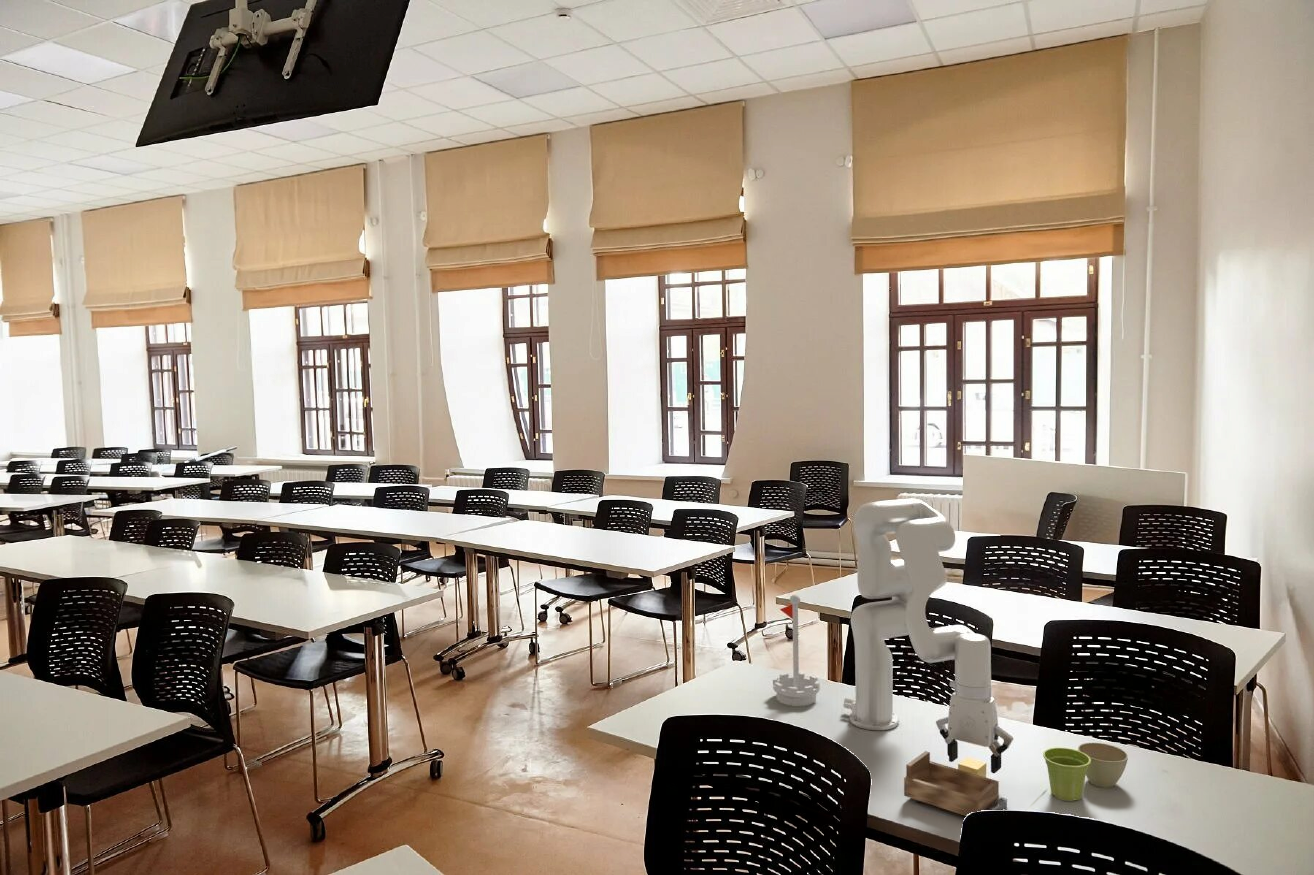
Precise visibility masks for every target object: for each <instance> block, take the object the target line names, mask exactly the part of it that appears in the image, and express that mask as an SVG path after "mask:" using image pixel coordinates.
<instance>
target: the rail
mask: <svg viewBox="0 0 1314 875" xmlns="http://www.w3.org/2000/svg"><path fill="white" fill-rule="evenodd" d="M1007 808H1008V798H1005V797H999V800H997V801H996V802H995V803H994V804H993V805H992V806H991V807H990V808H989V809H988V810H1003V809H1005V810H1006V809H1007Z"/></svg>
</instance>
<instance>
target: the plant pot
mask: <svg viewBox="0 0 1314 875" xmlns="http://www.w3.org/2000/svg"><path fill="white" fill-rule="evenodd" d="M1042 756H1043V759H1044V760H1045V764H1046V766H1047V767H1046V768H1047V773H1048V779H1049V787H1050V793H1051V795H1053V796H1054V797H1055V798H1056V799H1058V800H1061V801H1066V802H1073V801H1075V800H1076V801H1080V800H1081V799H1082V798H1083V792H1084V787H1085V785H1084V784H1085V780H1086V770H1087V769H1088V765H1089V764H1090V763H1091V759H1090V757H1089V756H1088V755H1086V754H1085V753H1083V752H1080V751H1078V749H1073V748H1067V747H1051V748H1048V749H1046V750H1044V751H1043V752H1042Z"/></svg>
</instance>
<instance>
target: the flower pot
mask: <svg viewBox="0 0 1314 875" xmlns="http://www.w3.org/2000/svg"><path fill="white" fill-rule="evenodd" d="M1077 751H1080V752H1083V753H1085V754H1086V755H1088V756H1089V757H1090V759H1091V763H1090V764H1089V765H1088V769H1087V770H1086V775H1085V777H1086V778H1087V780H1088V781H1089V783H1090V784H1092V785H1094V786H1096V787H1100V788H1106V789H1109V788H1114V786H1115V785H1116V784H1117V783H1118V782H1119V781H1120V779H1121V777H1122V775H1123V773H1124V772H1125V769H1126V766H1127V763H1128V758H1129V755H1128V753H1127V752H1126V751H1125V750H1124V749H1122V748H1119V747H1118V746H1115V745H1111V744H1109V743H1101V742H1085V743H1082V744H1080V745H1078V746H1077Z"/></svg>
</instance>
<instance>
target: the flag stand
mask: <svg viewBox="0 0 1314 875" xmlns="http://www.w3.org/2000/svg"><path fill="white" fill-rule="evenodd" d="M789 602H790V603H791V604H790V605H787V606H785V607H782V608H779V610H780V611H781V612H783V613H784V614H785V615H786V616H788V617H789V618H790V619H791V620H792V660H793V662H792V668H793V670H792V671H793V672H792V673H793V675H792V676H790V675H789V673H788V672H784V673H780V674H779V677H778V676H774V677H773V679H772V690H773V691H774V692H776V700H777V699H778V700H777V701H778V702H779V701H780V702H779V703H780V704H783V703H784V704H783V705H786V704H787V706H791V705H792V707H805V706H809V705H812V704H814V703H815V702H816V701H817V694H818V693H819V692H820V690H821V689H820V688H821V685H820V680H818V677H817V676H815V675H813V674H811V675H809V677H806V676H805V675H806V674H805V673H804V672H799V670H800V668H799V666H800V665H799V664H800V662H799V661H800V660H799V658H800V657H799V653H800V652H799V651H800V650H799V604H800V603H801V597H800V595H799V594H796V593H794V594H791V596H790V597H789Z"/></svg>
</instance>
